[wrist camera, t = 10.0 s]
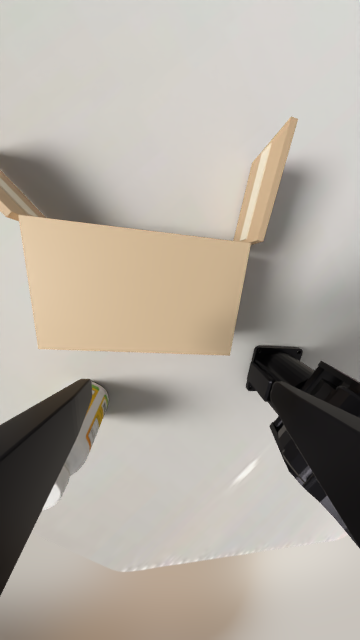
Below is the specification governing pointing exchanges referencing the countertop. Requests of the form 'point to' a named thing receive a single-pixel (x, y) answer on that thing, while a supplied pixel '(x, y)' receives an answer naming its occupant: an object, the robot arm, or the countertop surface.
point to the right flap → (264, 186)
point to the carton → (131, 288)
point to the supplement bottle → (81, 443)
